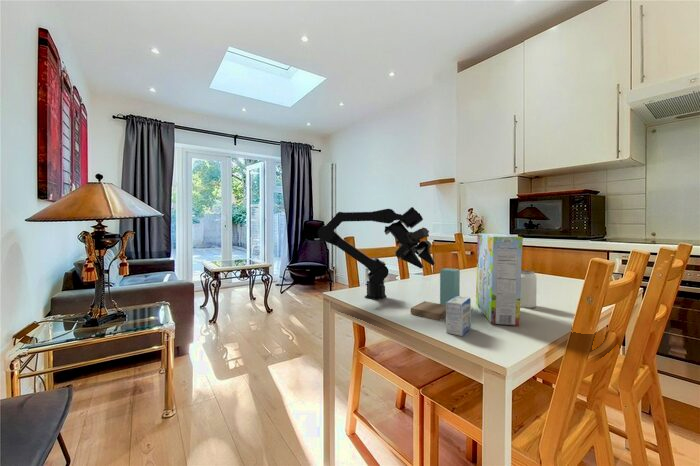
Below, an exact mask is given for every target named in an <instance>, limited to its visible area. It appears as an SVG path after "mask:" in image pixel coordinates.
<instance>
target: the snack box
mask: <svg viewBox="0 0 700 466" xmlns="http://www.w3.org/2000/svg"><path fill="white" fill-rule="evenodd" d="M523 239H524V237H523V236H517V235H516V236H515V235H512V234H502V233H501V234H499V233H477V242H476V243H477V248H476V286H475V287H476V288H475V289H476V292H475V293H476V295H475V305H476V306H477V307H478V309H479V310H480V311H481V313H482V314H483V315H484V317H486V318H487V320H488V322H490V324H492V325H503V326H518V327H519V326H520V319H521V317H520V316H521V307H520V295H521V270H522V258H523V257H522V256H523V241H524V240H523Z"/></svg>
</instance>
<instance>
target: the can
mask: <svg viewBox="0 0 700 466" xmlns="http://www.w3.org/2000/svg"><path fill="white" fill-rule="evenodd" d="M537 281H538V278H537V275H536V272H535V271H532V270H525V269H524V270H522V269H521V295H520V308H524V309H534V308H535V307H537V283H538V282H537Z"/></svg>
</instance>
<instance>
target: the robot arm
mask: <svg viewBox="0 0 700 466" xmlns="http://www.w3.org/2000/svg"><path fill="white" fill-rule="evenodd" d="M423 220H424V219H423V216H422V215H421V213H419V212H418V211H417V210H416V209H415V208H414V207H413V206H411V207H410V208H408V209H407V210H406V211H405V212H403V213H402V214H401V213H397V212H396V211H395V210H394V209H392V208H385V209H379V210H374V211H358V212H357V211H356V212H355V211H350V212H349V211H347V212H346V211H345V212H343V211H339V212H336V214H335V215H334V216H333V217H332V218H331V220H329V221H328V223H327V224H325V225H321V226H320V227H319V228H318V230H317V236H318V238H319V240H321V241H324V242H326V243H328V244H330V245H333V246H336V248H338V249H340V250H341V251H343V252H344V253H345V254H348V255H349V256H350V257H351V258H353V259H354V260H356V261H357V262H358V263H360V264H361V265H363V266H364V267H365V268H366V269H367V270H368V271H369V272H368V274H367V275H366V276H367V279H368V280H367V281H366V295H364V298H366V299H373V300H376V301H377V300H381V299H382V298H383V299H384V298H386V297H387V294H386V286H385V281H384V280H385V279H386V278H387V277H388V276H389V268H388V267H387V266H386V265H387V264H386V263H385V261H383V260H380V259H379V258H378V257H377V256H375V257H374V258H371V257H369V256H368V255H367V254H365V253H364V252H362V251H361V250H359V249H358V248H357V247H355V246H354V245H352V244H351V243H349V242H348V241H347V240H345V238H342V237H341V236H340V234H338V232H336V231H335V230H336V229H337V228H338V227H339V226H340V225H341V223H344V222H374V223H375V222H376V223H381V224H389V225H388V226H387V225H386V226H384V230H383V232H384V234H385V235H389V234H390V233H391V235H392V236H393V238H394V239H395V240H396V242H395V244H396V245H399V246H398V248H397V249H396V250H395V253H394V254H395V255H394V256H395V257H396V258H397V259H398V260H399V259H400V260H401V261H405V262H406V263H408V264H411V265H413V266H415V267H417V268H419V269H423V268H424V265H423V263H422V262H421V260H420V259H422V260H423V261H425V262H426V263H428V265H431V266H434V265H435V264H436V263H435V261H434V259H433V256H432V254H431V251H430V250H431V248H432V247H431V246H432V243H431V242H430V241H429V240H422V239H425V238H429V236H430V235H429V232H430V230H428V228H426V227H422V228H418V229H417V230H415V231H409V230H408V229H411V230H412V229H414V227H416V226H417V225H418V224H420V223H421V222H423ZM394 221H395V222H394ZM419 258H420V259H419Z"/></svg>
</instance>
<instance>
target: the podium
mask: <svg viewBox="0 0 700 466" xmlns="http://www.w3.org/2000/svg"><path fill="white" fill-rule="evenodd" d="M410 314H411V315H413V316H414V315H415V316H419V317H421V318H422V317H424V318H427V319H432V320H437V321H441V320H443V319H444V318H445V319H446V305H443V304H440V303H437V302H432V301H426V300H424V301H422V302H420V303H418V304H416V305H414V306H412V307H410Z"/></svg>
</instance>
